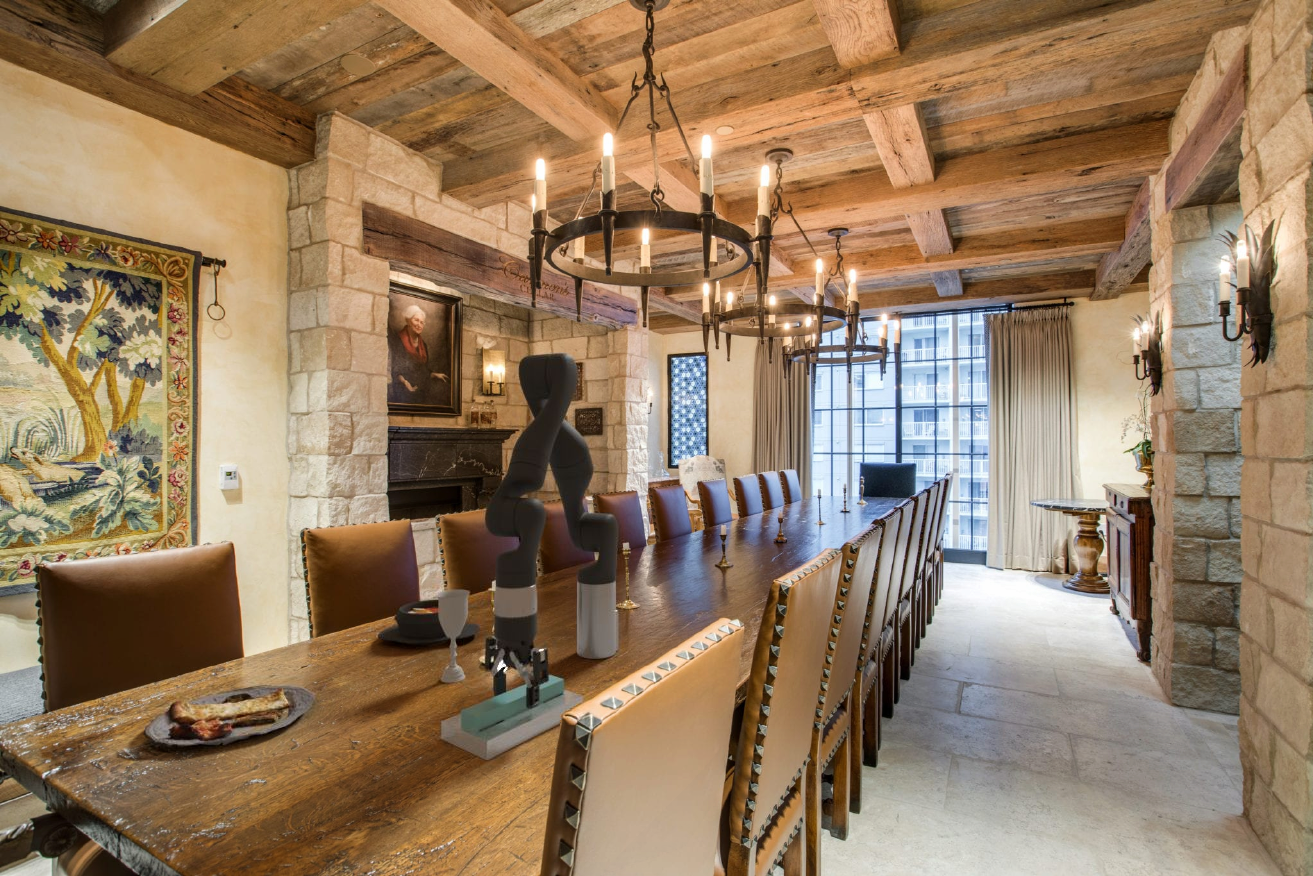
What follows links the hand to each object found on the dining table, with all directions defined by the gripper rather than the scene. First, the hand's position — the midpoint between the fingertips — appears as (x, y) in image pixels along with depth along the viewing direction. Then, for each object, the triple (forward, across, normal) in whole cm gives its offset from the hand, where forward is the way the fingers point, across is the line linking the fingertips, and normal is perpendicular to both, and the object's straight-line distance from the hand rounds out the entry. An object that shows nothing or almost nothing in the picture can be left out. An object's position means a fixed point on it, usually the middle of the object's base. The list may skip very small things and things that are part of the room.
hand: (515, 701), depth 110 cm
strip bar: (+4, 0, 0) cm, 4 cm away
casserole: (+4, +56, -20) cm, 60 cm away
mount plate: (+4, 0, 0) cm, 4 cm away
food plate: (+5, +42, +29) cm, 51 cm away
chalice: (+4, +28, -7) cm, 29 cm away
